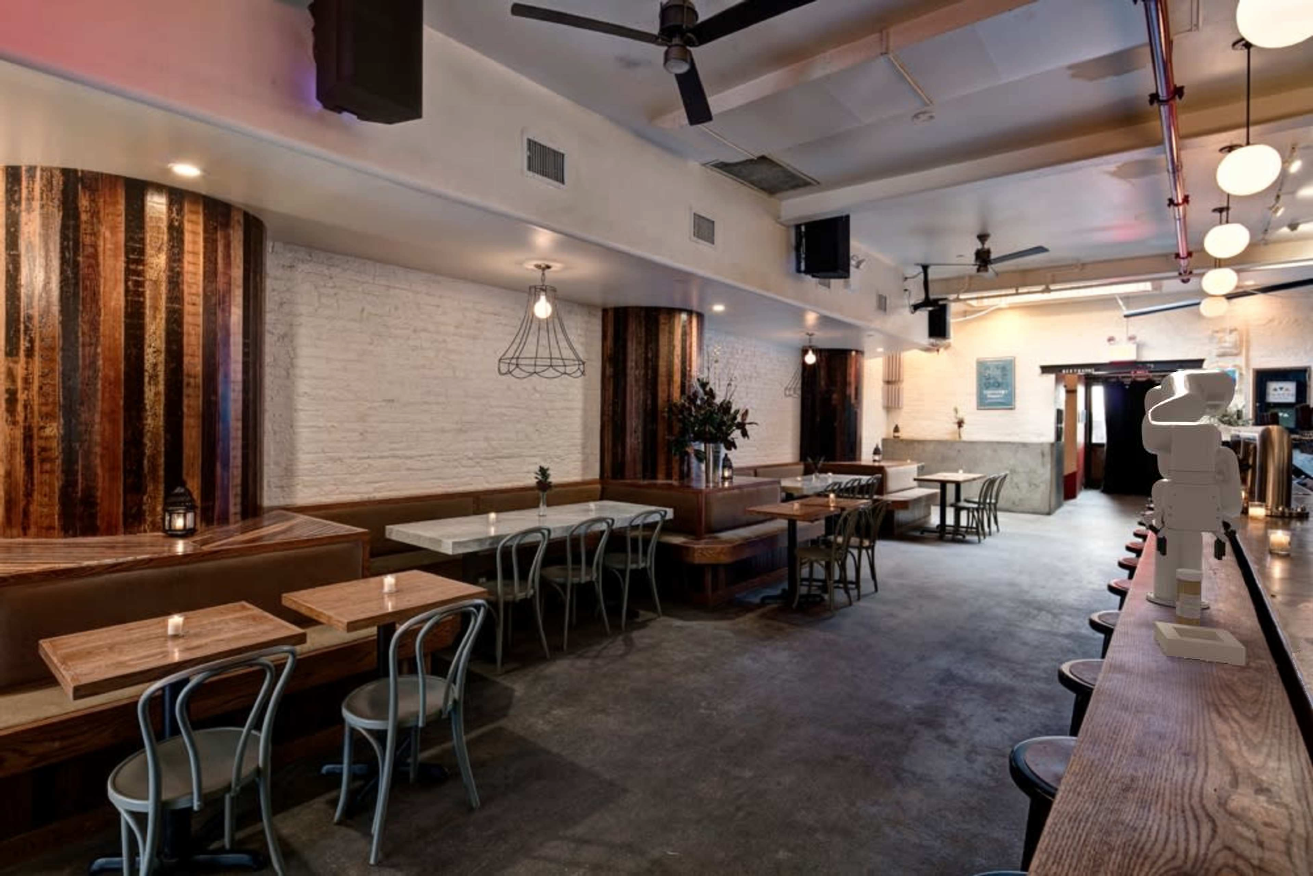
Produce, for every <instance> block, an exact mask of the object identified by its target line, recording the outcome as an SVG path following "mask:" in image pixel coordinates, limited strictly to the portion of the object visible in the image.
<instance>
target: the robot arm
mask: <svg viewBox="0 0 1313 876" xmlns="http://www.w3.org/2000/svg"><path fill="white" fill-rule="evenodd" d="M1235 392H1236V386H1235V381H1234V379H1233V377H1232V375H1231V374H1230V373H1228V372H1227V371H1225V370H1221V369H1220V370H1211V369H1210V370H1185V371H1183V370H1182V371H1176V372H1173V373H1170V374H1168V375H1167V376H1165V377H1164V378H1163V379H1162V380H1161V382H1160V385H1158V386H1154V387H1153V388H1150V389H1148V391H1147V392H1146V394H1145V397H1144V409H1145V415H1144V416H1143V420H1142V423H1141V435H1142V436H1141V437H1142V445H1143V448H1144V449H1145V451H1147V452H1148V453H1150V454H1154V455H1157V467H1158V471H1159V474H1160V475H1161V477H1163V478H1161V479H1159V480H1157V481H1156V482H1155V483H1153V485H1152V489H1151V497H1152V498H1151V499H1152V505H1153V512H1150V513H1148V514H1145V515H1142V517H1141V519H1142V520H1143V521H1142V522H1144V524H1145V525H1146V528H1147V529H1148V530H1150V532H1151V533H1152V534H1153V535H1154V568H1153V569H1154V570H1153V571H1154V572H1153V574H1154V575H1153V576H1154V578H1153V590H1152V591H1148V592H1147V593H1145V596H1146V599H1147V600H1148V601H1151V602H1153V603H1155V604H1159V605H1164V606H1168V607H1174V608H1176V593H1177V578H1176V570H1177V569H1193V570H1198V571H1201V572H1202V573H1203V560H1204V559H1203V557H1204V556H1203V554H1204V551H1203V550H1204V538H1203V533H1212V534H1213V535H1214V536H1215V538H1216V539H1215V540H1214V544H1213V546H1214V547H1213V558H1214V559H1216V560H1218V561H1223V557H1226V550H1227V549H1226V545H1227V542H1229V540H1230V539H1232V538H1233V537H1235V536H1236V535H1237V534H1238V532H1239V531H1240V530H1241V528H1242V527H1243V525H1244V524H1243V522H1242V521H1241V520H1239V519H1236V517H1238V516H1239V515H1240V514H1241V512H1242V510H1243V503H1244V502H1243V500H1244V499H1243V490H1242V483H1241V476H1240V468H1239V467H1240V466H1239V461H1238V457H1237V455H1236V453H1235V452H1234V450H1233V449H1231V448H1229V447H1227V446H1222V442H1223V435H1222V431H1221V430H1220V429H1219V428H1218V426H1216V425H1215V424H1213V423H1212V422H1202V421H1201V422H1198V421H1200V420H1201V419H1203V417H1210V416H1211V417H1213V416H1215V417H1216V416H1221V415H1222V414H1224V413H1226V411H1227V410H1228V408H1229V406H1231V403H1232V401H1233V399H1234V397H1235ZM1153 520H1154V523H1153ZM1223 522H1227V523H1228V524H1230V527H1229V528H1228V529H1227V530H1226V531H1224V532H1222V531H1221V530H1222V528H1223ZM1202 589H1203V582H1202V583H1201V595H1202V593H1203V591H1202ZM1209 607H1210V601H1209V600H1208V599H1207V598H1203V597H1202V596H1201V609H1207V608H1209Z"/></svg>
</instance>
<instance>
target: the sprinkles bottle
mask: <svg viewBox="0 0 1313 876" xmlns="http://www.w3.org/2000/svg"><path fill="white" fill-rule="evenodd" d="M1203 575H1204V574H1203V571H1202V572H1201V571H1198V570H1193V569H1177V570H1176V578H1177V593H1176V607H1175V624H1181V625H1190V626H1198V627H1201V617H1202V608H1201V597H1202V594H1201V583H1202V584H1203Z"/></svg>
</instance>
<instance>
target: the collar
mask: <svg viewBox="0 0 1313 876" xmlns="http://www.w3.org/2000/svg"><path fill="white" fill-rule="evenodd" d="M1153 630H1154V631H1153V632H1154V634H1153V635H1154V636H1153V637H1155V638H1154V639H1156V640H1157V641H1158V642H1157V641H1156V640H1155V641H1156V642H1157V644H1158V643H1159V644H1160V645H1161V647H1162V648H1161V647H1160V648H1161V650H1162V649H1163V650H1164V651H1163V650H1162V651H1163V653H1164V652H1165V653H1166V654H1165V653H1164V654H1165V656H1166V655H1169V656H1168V657H1171V656H1178V657H1187V658H1193V659H1203V660H1209V661H1216V662H1222V663H1221V664H1223V663H1228V664H1227V665H1231V666H1239V667H1246V653H1247V651H1246V647H1245V646H1244V645H1243V644H1242V643H1241V642H1240V641H1239V640H1238V639H1237V638H1236V637H1235V636H1233V635H1232V633H1231V632H1229V631H1228V629H1223V628H1214V627H1205V626H1200V627H1198V626H1190V625H1181V624H1176V623H1171V622H1164V621H1163V622H1161V621H1154V629H1153ZM1159 644H1158V645H1159ZM1160 645H1159V646H1160ZM1178 657H1177V658H1178ZM1193 659H1192V660H1193ZM1216 662H1215V663H1216Z"/></svg>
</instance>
